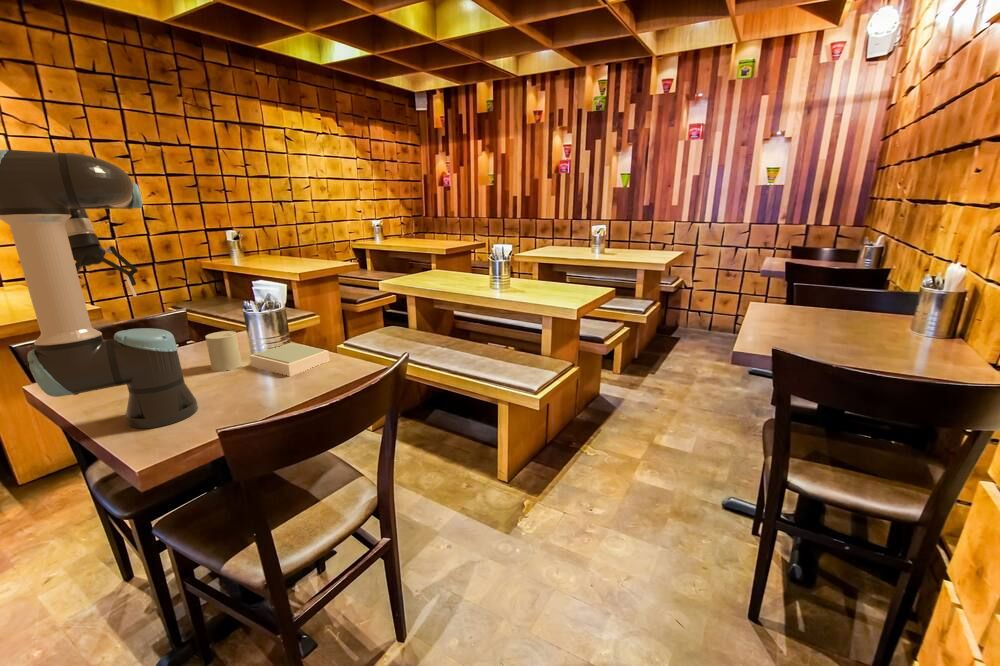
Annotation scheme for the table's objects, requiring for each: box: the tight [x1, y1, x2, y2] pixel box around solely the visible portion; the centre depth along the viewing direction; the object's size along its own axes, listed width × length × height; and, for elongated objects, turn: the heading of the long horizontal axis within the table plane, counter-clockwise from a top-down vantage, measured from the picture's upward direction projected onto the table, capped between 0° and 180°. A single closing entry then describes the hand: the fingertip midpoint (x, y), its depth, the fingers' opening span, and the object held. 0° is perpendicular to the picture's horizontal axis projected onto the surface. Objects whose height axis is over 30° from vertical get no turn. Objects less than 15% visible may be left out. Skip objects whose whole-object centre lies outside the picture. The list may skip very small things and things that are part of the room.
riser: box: [249, 342, 331, 377], centre depth 155 cm, size 20×16×4 cm
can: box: [204, 330, 243, 372], centre depth 152 cm, size 9×9×12 cm
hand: (108, 302), depth 141 cm, fingers open, 13 cm apart
